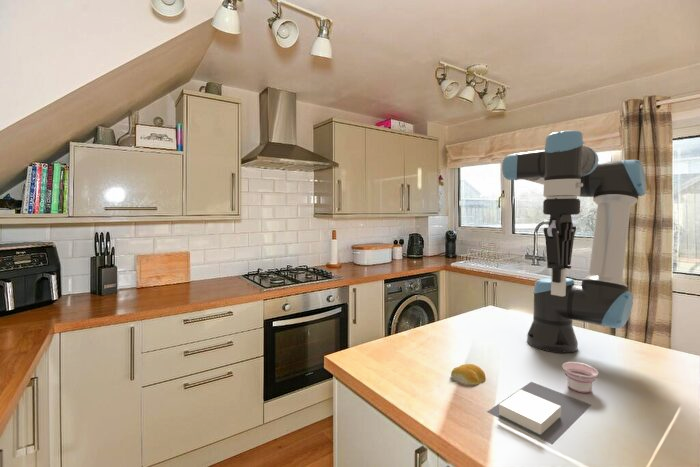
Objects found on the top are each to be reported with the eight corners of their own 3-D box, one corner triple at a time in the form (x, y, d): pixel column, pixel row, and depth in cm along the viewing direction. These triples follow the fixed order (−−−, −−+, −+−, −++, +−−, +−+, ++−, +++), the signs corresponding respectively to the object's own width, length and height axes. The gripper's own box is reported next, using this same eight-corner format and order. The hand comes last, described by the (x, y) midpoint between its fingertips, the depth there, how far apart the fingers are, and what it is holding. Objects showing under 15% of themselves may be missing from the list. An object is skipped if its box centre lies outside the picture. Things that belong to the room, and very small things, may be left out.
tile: (520, 400, 84) (499, 415, 78) (520, 389, 84) (499, 404, 77) (560, 417, 77) (540, 436, 71) (561, 406, 76) (541, 423, 70)
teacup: (611, 409, 81) (612, 384, 80) (552, 396, 87) (553, 373, 86) (602, 386, 91) (603, 363, 91) (550, 376, 97) (551, 355, 97)
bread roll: (490, 381, 95) (491, 367, 95) (470, 390, 90) (470, 376, 90) (465, 369, 102) (466, 356, 101) (445, 378, 97) (445, 364, 96)
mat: (487, 414, 79) (487, 411, 79) (531, 383, 93) (531, 381, 93) (552, 446, 68) (552, 444, 68) (591, 407, 82) (591, 404, 82)
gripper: (568, 197, 75) (564, 302, 76) (589, 197, 83) (585, 293, 84) (532, 198, 81) (529, 296, 82) (555, 198, 89) (552, 288, 90)
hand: (558, 294), depth 83 cm, fingers closed
